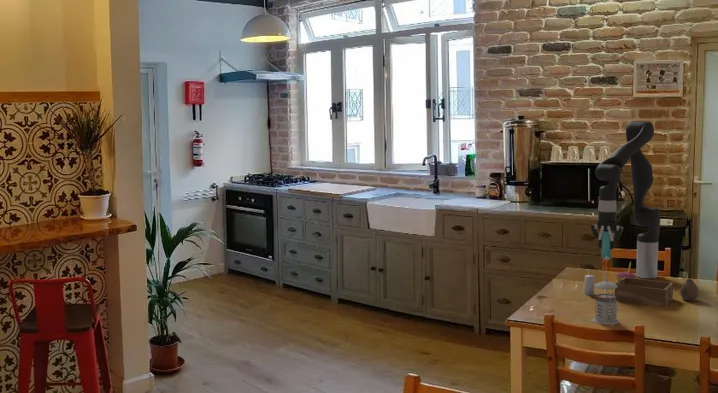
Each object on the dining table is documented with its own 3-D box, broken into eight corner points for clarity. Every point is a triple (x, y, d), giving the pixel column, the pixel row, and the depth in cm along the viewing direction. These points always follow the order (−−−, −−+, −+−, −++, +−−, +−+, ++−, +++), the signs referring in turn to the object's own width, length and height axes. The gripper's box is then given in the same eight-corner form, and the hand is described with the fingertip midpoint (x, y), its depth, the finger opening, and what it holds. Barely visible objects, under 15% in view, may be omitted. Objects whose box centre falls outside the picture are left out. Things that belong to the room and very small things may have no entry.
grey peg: (586, 292, 314) (586, 274, 313) (595, 293, 312) (595, 275, 311) (583, 294, 311) (583, 276, 310) (592, 295, 308) (592, 277, 307)
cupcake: (632, 284, 325) (633, 259, 324) (638, 289, 317) (638, 263, 315) (613, 284, 326) (613, 259, 325) (618, 289, 318) (618, 263, 316)
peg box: (623, 292, 312) (624, 276, 311) (672, 298, 301) (673, 282, 300) (614, 299, 301) (615, 283, 300) (664, 306, 289) (665, 290, 289)
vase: (700, 302, 295) (700, 281, 294) (682, 301, 296) (682, 281, 295) (695, 298, 302) (696, 277, 301) (678, 297, 303) (679, 277, 302)
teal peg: (603, 256, 317) (603, 230, 315) (612, 257, 314) (612, 230, 313) (600, 258, 314) (600, 231, 312) (609, 259, 311) (610, 232, 310)
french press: (613, 316, 278) (614, 253, 275) (625, 325, 266) (627, 260, 263) (588, 317, 277) (589, 254, 274) (599, 326, 266) (600, 260, 263)
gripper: (626, 210, 310) (625, 248, 312) (593, 207, 318) (592, 245, 321) (621, 212, 304) (620, 251, 306) (588, 210, 312) (587, 248, 315)
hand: (606, 248), depth 313 cm, fingers closed on teal peg, 4 cm apart
